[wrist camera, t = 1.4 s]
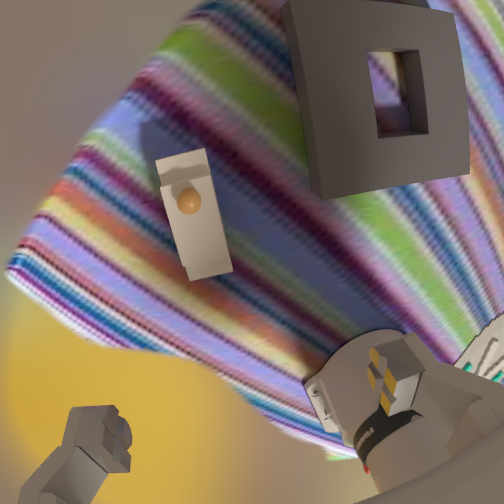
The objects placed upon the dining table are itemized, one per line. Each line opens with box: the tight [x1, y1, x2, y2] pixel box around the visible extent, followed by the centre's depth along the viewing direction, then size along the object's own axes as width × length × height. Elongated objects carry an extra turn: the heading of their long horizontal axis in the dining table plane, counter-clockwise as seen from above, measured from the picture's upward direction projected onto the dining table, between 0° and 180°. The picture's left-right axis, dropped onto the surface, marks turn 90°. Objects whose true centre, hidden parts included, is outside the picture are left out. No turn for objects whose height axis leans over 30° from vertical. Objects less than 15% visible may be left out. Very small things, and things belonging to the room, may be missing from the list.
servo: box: [155, 147, 233, 281], centre depth 27 cm, size 11×4×6 cm, turn 11°
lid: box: [453, 312, 504, 382], centre depth 51 cm, size 28×28×2 cm
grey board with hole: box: [280, 0, 470, 200], centre depth 26 cm, size 18×18×3 cm
